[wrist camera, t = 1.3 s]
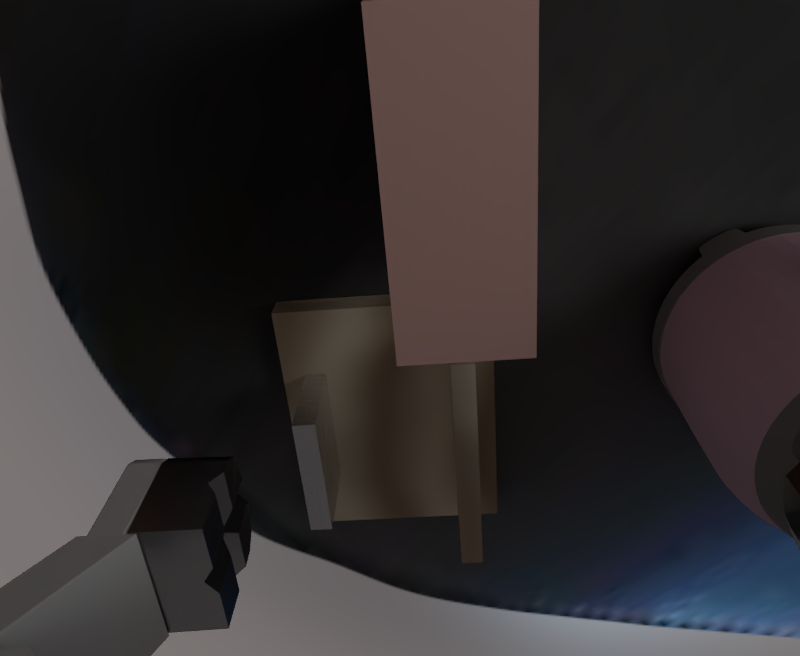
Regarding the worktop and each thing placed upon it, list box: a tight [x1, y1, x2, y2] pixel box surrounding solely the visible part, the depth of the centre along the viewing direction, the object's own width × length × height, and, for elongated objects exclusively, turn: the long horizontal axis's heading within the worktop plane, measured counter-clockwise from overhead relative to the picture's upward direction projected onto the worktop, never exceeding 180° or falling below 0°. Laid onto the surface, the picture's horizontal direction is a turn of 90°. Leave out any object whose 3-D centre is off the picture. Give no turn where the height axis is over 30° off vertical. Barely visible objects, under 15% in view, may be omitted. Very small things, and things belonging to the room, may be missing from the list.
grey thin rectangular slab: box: [292, 374, 341, 530], centre depth 40 cm, size 1×7×5 cm, turn 4°
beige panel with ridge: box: [271, 294, 498, 563], centre depth 40 cm, size 12×15×6 cm
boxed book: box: [361, 0, 539, 366], centre depth 29 cm, size 5×12×14 cm, turn 5°
